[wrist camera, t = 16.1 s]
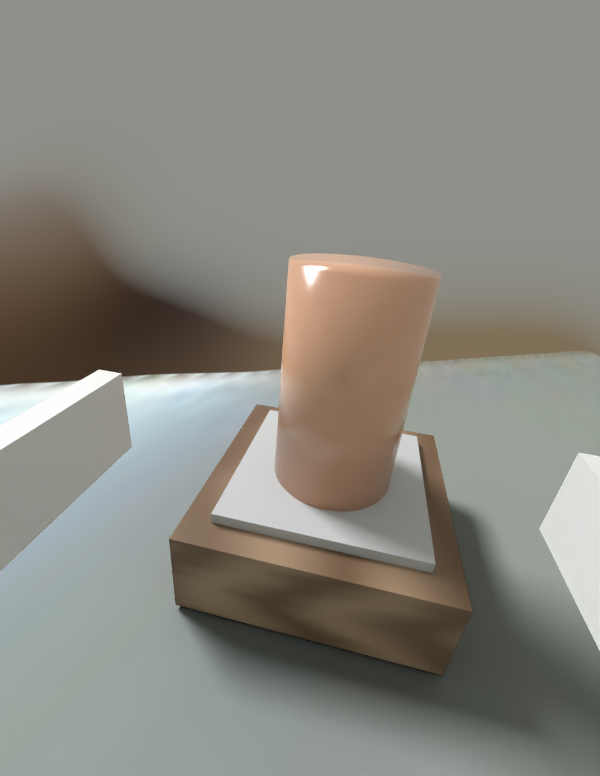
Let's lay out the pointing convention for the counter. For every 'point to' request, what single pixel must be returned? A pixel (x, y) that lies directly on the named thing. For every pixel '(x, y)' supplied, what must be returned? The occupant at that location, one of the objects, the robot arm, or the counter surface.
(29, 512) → the robot arm
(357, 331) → the peach glossy cylinder
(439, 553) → the walnut base
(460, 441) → the counter surface
